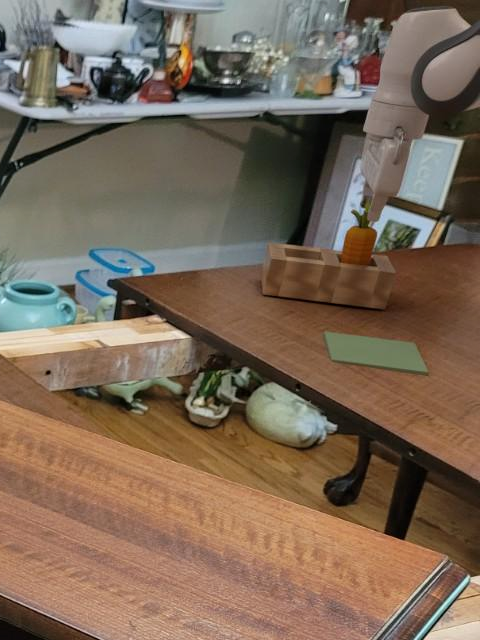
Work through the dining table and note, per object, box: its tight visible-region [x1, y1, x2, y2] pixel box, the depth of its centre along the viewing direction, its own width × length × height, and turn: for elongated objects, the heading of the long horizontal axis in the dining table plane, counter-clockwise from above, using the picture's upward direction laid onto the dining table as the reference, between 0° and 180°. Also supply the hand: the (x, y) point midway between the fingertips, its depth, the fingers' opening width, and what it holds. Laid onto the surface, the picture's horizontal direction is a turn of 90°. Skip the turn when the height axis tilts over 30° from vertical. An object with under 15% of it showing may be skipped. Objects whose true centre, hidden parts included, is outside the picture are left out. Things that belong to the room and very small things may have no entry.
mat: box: [322, 330, 430, 376], centre depth 160 cm, size 13×13×1 cm
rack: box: [260, 242, 397, 310], centre depth 185 cm, size 20×11×6 cm, turn 75°
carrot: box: [341, 202, 378, 266], centre depth 181 cm, size 5×5×15 cm
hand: (368, 214), depth 178 cm, fingers open, 8 cm apart
